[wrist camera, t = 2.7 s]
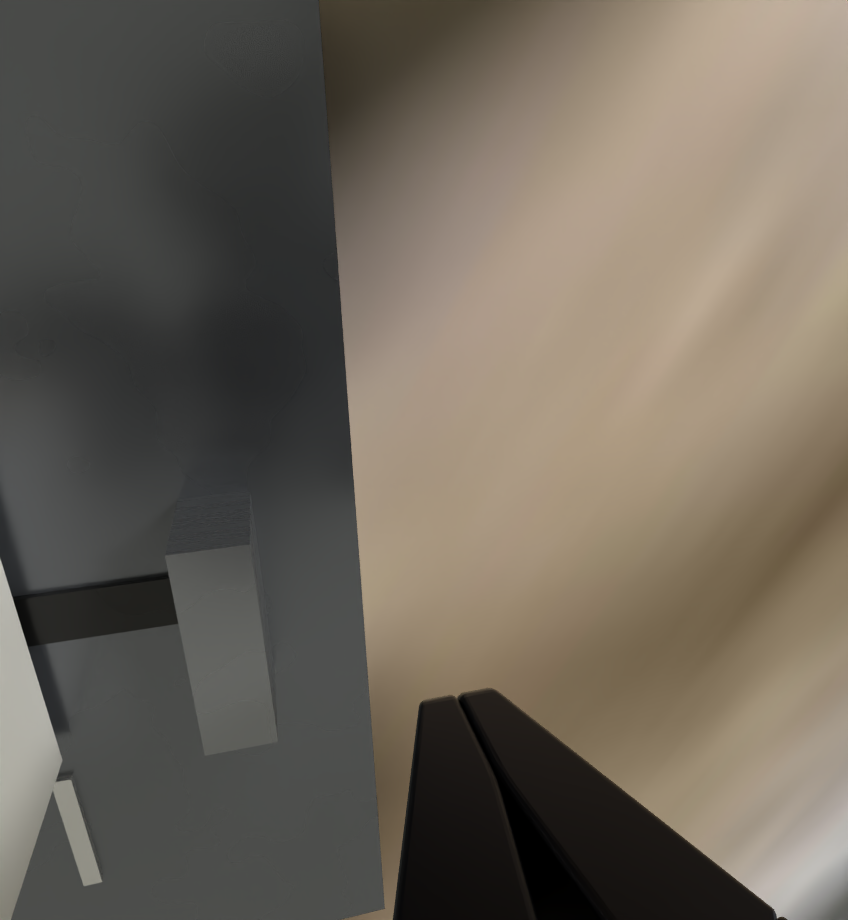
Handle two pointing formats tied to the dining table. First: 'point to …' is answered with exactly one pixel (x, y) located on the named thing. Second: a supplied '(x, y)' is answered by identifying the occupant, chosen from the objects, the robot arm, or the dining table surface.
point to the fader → (21, 754)
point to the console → (182, 463)
